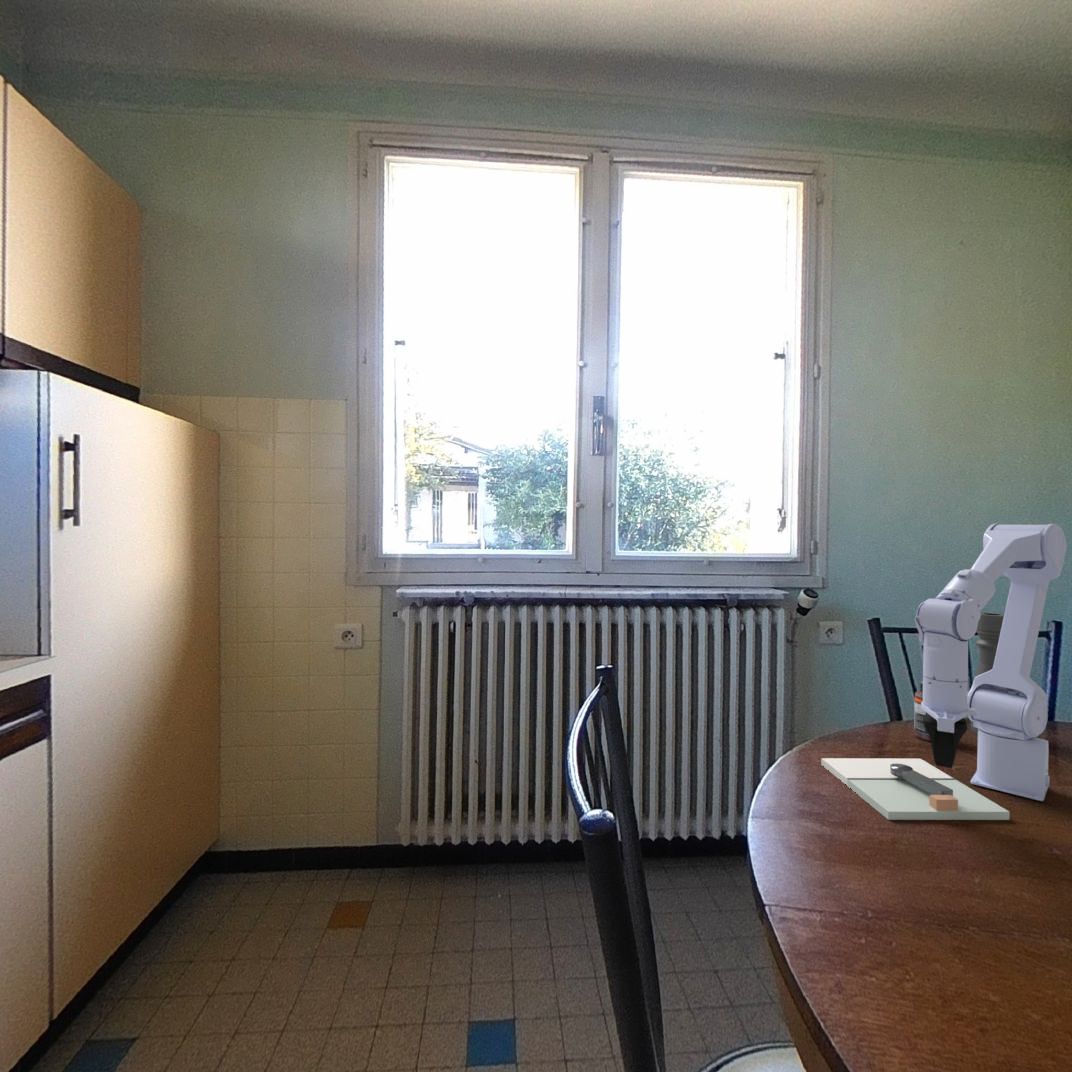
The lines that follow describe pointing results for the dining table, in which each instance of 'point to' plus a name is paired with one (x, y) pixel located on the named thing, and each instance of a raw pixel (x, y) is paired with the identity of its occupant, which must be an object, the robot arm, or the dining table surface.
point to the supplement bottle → (920, 716)
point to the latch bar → (919, 779)
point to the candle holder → (987, 644)
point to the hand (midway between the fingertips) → (943, 765)
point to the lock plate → (911, 791)
